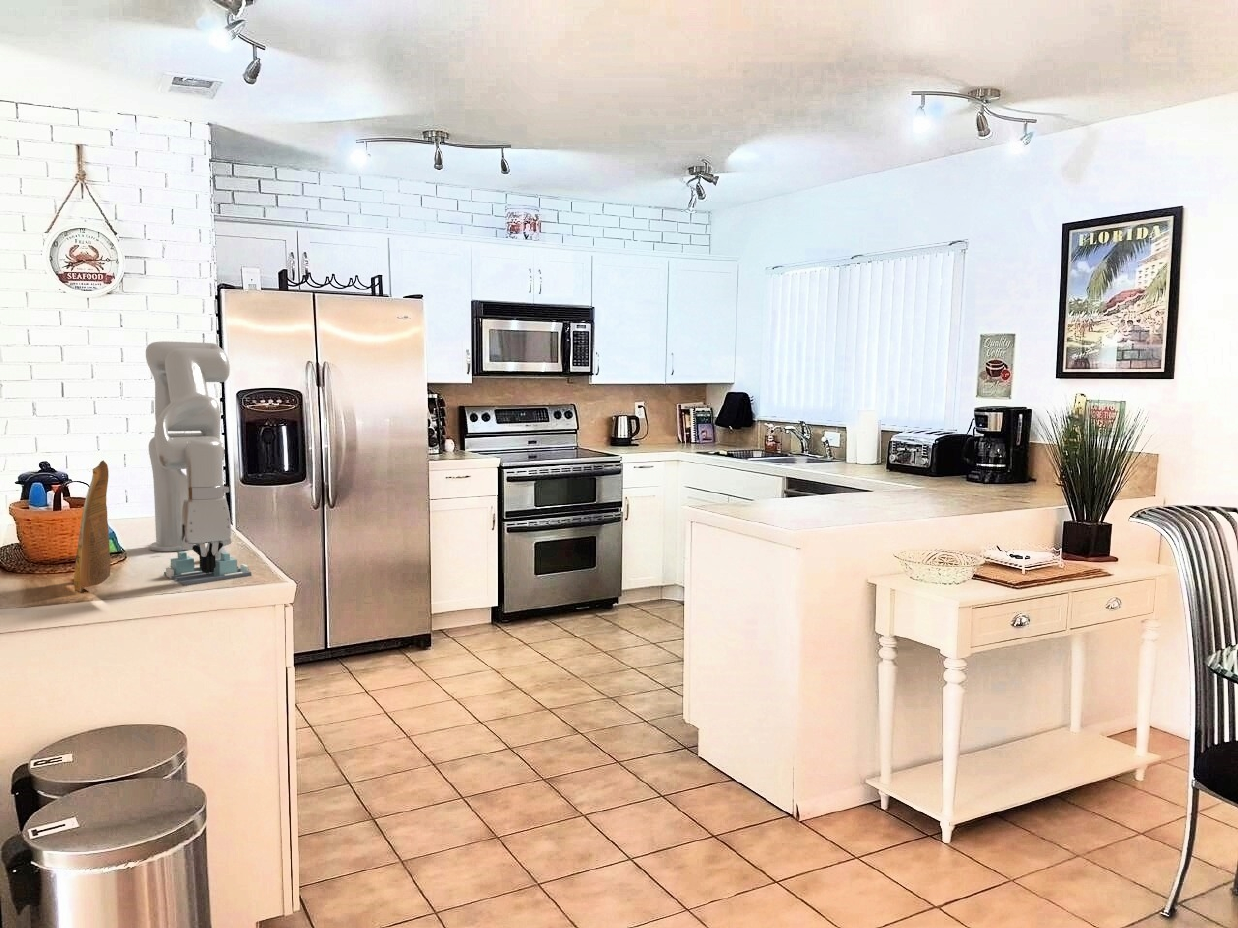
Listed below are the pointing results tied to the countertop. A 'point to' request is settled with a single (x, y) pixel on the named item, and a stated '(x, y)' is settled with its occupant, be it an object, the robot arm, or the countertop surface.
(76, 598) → the countertop surface
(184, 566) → the tab
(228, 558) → the tab
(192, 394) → the robot arm
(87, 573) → the pancake mix bag
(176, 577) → the switch bank
